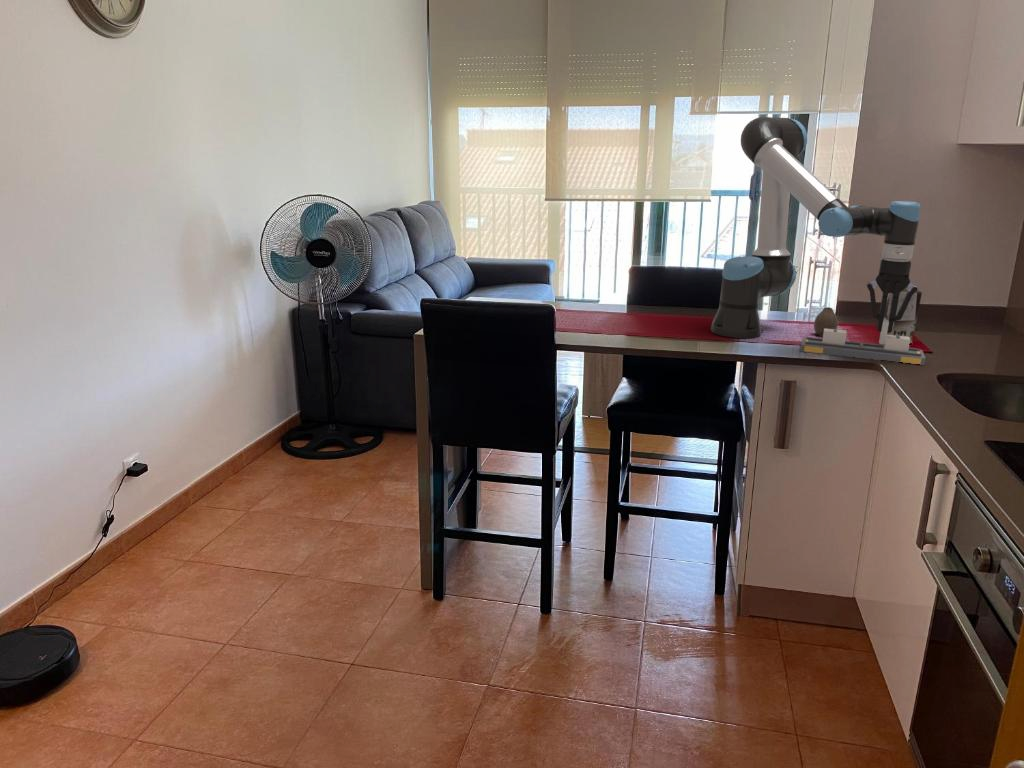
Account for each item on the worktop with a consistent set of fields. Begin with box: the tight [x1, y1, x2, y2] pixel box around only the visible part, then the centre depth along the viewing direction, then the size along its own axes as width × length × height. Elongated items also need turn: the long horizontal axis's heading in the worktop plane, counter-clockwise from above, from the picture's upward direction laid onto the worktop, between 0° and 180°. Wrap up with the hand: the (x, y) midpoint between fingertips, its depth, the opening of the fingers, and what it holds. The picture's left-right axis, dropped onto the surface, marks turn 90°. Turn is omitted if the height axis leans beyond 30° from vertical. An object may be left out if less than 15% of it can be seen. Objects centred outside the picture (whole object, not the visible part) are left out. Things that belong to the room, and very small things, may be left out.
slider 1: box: [822, 328, 847, 345], centre depth 217 cm, size 6×4×4 cm, turn 67°
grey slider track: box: [800, 336, 927, 366], centre depth 215 cm, size 32×10×3 cm, turn 67°
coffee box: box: [886, 287, 923, 344], centre depth 229 cm, size 9×6×16 cm
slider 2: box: [883, 335, 910, 352], centre depth 211 cm, size 6×4×4 cm, turn 67°
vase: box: [813, 306, 839, 337], centre depth 236 cm, size 7×7×9 cm
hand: (882, 343), depth 212 cm, fingers closed
